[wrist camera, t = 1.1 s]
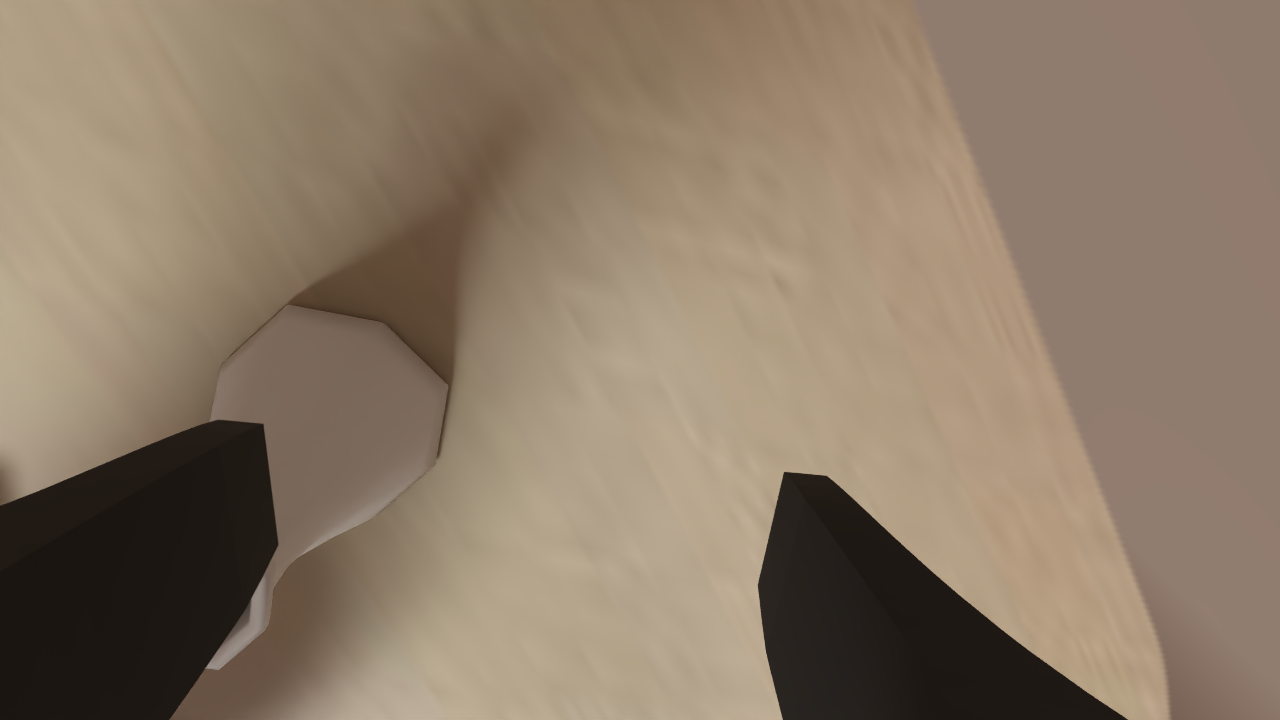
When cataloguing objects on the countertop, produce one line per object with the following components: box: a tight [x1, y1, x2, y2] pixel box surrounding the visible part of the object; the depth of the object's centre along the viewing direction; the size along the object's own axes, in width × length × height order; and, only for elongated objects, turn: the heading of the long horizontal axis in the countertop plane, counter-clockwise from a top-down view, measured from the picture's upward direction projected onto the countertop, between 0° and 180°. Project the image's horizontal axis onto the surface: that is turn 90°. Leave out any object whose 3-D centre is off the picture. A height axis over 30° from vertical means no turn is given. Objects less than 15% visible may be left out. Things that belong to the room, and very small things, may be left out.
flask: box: [205, 304, 449, 670], centre depth 18 cm, size 7×7×10 cm
